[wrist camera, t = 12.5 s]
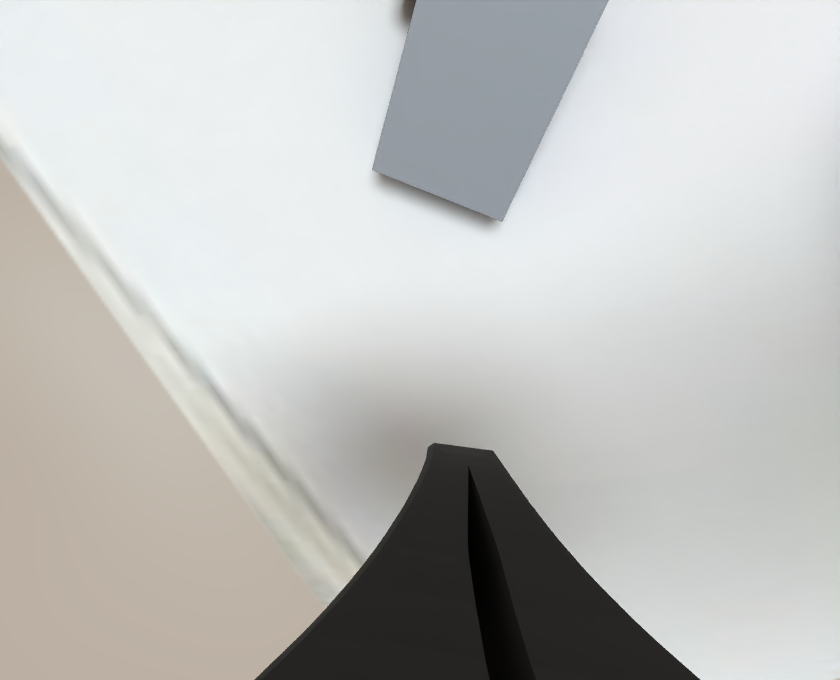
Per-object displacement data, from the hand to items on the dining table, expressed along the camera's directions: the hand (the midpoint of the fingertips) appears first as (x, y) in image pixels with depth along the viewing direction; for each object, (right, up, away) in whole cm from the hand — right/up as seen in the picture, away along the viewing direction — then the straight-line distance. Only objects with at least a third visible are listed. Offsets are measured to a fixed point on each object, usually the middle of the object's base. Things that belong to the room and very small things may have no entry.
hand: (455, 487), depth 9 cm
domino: (0, +9, +7) cm, 11 cm away
